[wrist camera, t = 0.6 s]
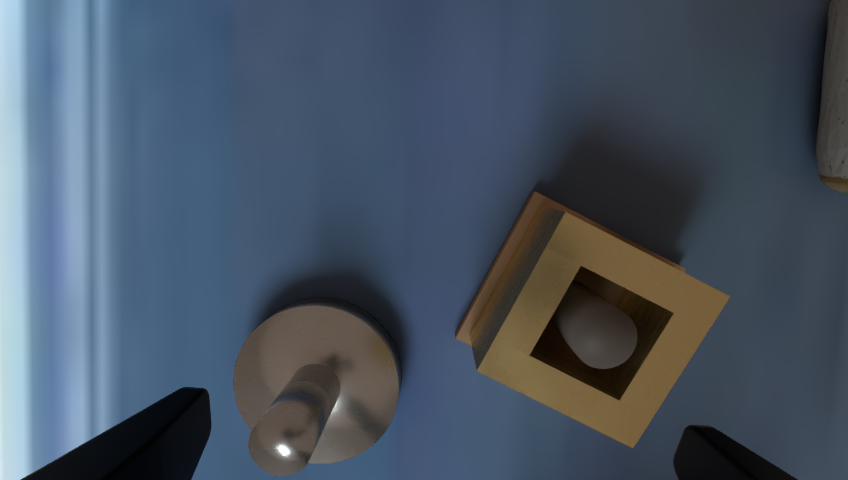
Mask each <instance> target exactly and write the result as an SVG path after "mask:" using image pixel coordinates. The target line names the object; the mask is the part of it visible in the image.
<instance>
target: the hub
mask: <svg viewBox="0 0 848 480" xmlns="http://www.w3.org/2000/svg"><path fill="white" fill-rule="evenodd" d="M233 383H234V393H235V398H236V402H237V405H238V408H239V411H240V413H241V415H242V417H243V419H244V421H245V422H246V424H247V425H248V427H249V429H250V430H251V431H252V432H251V434H250V437H249V443H248V444H249V452H250V454H251V457H252V459H253V460H254V462H255V463H256V464H257V465H258V466H259V467H260V468H261V469H263V470H264V471H266V472H268V473H270V474H273V475H278V476H287V475H292V474H295V473H297V472H299V471H300V470H302V469H303V468H304V467H305V466H306V465H307V463H312V464H327V463H335V462H340V461H344V460H347V459H350V458H353V457H355V456H357V455H359V454H361V453H363V452H364V451H365V450H367V449H368V448H370V447H371V446H372V445H373V444H374V443H376V442H377V441H378V440H379V439H380V437H381V436H382V435H383V434H384V433H385V431H386V430H387V428H388V426H389V425H390V423H391V421H392V418H393V416H394V414H395V410H396V407H397V402H398V397H399V391H400V385H401V365H400V359H399V356H398V352H397V349H396V347H395V345H394V342H393V341H392V339H391V337H390V336H389V334H388V332H387V331H386V330H385V329H384V327H383V326H382V325H381V324H380V323H379V322H378V321H377V320H376V319H375V318H374V317H372V316H371V315H370V314H369V313H367V312H366V311H364V310H362V309H361V308H359V307H357V306H355V305H352V304H350V303H348V302H344V301H340V300H336V299H329V298H313V299H305V300H301V301H297V302H295V303H292V304H289V305H287V306H285V307H284V308H282V309H280V310H278V311H277V312H276V313H274V314H273V315H272V316H270V317H269V318H268V319H267V320H265V321H264V322H263V323H262V324H260V325H259V326H258V327H257V328H256V329H255V330H254V331H253V332H252V333H251V334H250V336H249V337H248V338H247V340H246V341H245V342H244V344H243V346H242V348H241V350H240V352H239V355H238V357H237V360H236V364H235V369H234V379H233Z"/></svg>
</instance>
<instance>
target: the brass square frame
mask: <svg viewBox="0 0 848 480" xmlns="http://www.w3.org/2000/svg"><path fill="white" fill-rule="evenodd" d="M580 266H583V267H585V268H587V269H589V270H591V271H593V272H595V273H596V274H598V275H600V276H602V277H604V278H606V279H608V280H610V281H612V282H614V283H616V284H618V285H620V286H622V287H624V288H626V289H625V290H624V292H623V294H622V295H621V297H620V299H619V300H618V302H617V304H616V305H615V306H616V307H617V308H618V309H620V310H621V311H623V312H624V313H626V314H627V315H628V316H629V317H630V318H631V319H632V321H633V322H634V324H635V326H636V329H637V337H638V338H637V344H636V347H635V350H634V352H633V353H632V355H631V356H630V357H629V358H628V359H627V360H626V361H625V362H624V363H622V364H620V365H618V366H616V367H613V368H609V369H599V368H594V367H591V366H589V365H587V364H585V363H584V362H583V361H581V359H580V358H579V357H578V356H577V355H576V354H575V353H573V352H571V351H569V350H567V349H565V348H563V347H561V346H559V345H557V344H555V343H553V342H551V341H549V340H547V339H545V338H543V337H541V334H542V332H543V331H544V329H545V327H546V326H547V324H548V322H549V320H550V319H551V317H552V315H553V313H554V312H555V310H556V308H557V306H558V305H559V303H560V301H561V299H562V298H563V296H564V294H565V293H566V291H567V289H568V287H569V286H570V284H571V282H572V280H573V279H574V277H575V275H576V273H577V272H578V270H579V268H580ZM729 298H730V296H728V295H726V294H724V293H723V292H721V291H719V290H717V289H715V288H713V287H711V286H709V285H707V284H705V283H703V282H701V281H699V280H697V279H695V278H693V277H691V276H689V275H688V274H686V273H684V272H682V271H680V270H678V269H676V268H674V267H672V266H670V265H668V264H666V263H664V262H662V261H660V260H658V259H656V258H654V257H653V256H651V255H649V254H647V253H645V252H643V251H641V250H639V249H637V248H635V247H633V246H631V245H629V244H627V243H625V242H623V241H621V240H619V239H618V238H616V237H614V236H612V235H610V234H608V233H606V232H604V231H602V230H600V229H598V228H596V227H594V226H592V225H590V224H588V223H586V222H584V221H583V220H581V219H579V218H577V217H575V216H573V215H571V214H569V213H567V212H564V211H560V210H556V209H551V208H547V207H543V206H539V208H538V210H537V211H536V213H535V215H534V217H533V219H532V220H531V222H530V224H529V226H528V228H527V230H526V231H525V233H524V235H523V237H522V239H521V241H520V242H519V244H518V246H517V248H516V250H515V252H514V253H513V255H512V257H511V259H510V261H509V262H508V264H507V266H506V268H505V270H504V272H503V273H502V275H501V277H500V279H499V281H498V283H497V284H496V286H495V288H494V290H493V292H492V294H491V295H490V297H489V299H488V301H487V303H486V304H485V306H484V308H483V310H482V312H481V314H480V315H479V317H478V319H477V321H476V323H475V325H474V326H473V328H472V330H471V332H470V334H469V335H470V340H471V345H472V350H473V355H474V360H475V364H476V369H477V371H478V372H480V373H482V374H484V375H486V376H488V377H490V378H492V379H494V380H496V381H498V382H500V383H502V384H504V385H506V386H508V387H510V388H512V389H514V390H516V391H518V392H520V393H522V394H524V395H526V396H528V397H530V398H532V399H534V400H536V401H538V402H540V403H542V404H544V405H546V406H549V407H551V408H553V409H555V410H557V411H559V412H561V413H563V414H565V415H567V416H569V417H571V418H573V419H575V420H577V421H579V422H581V423H583V424H585V425H587V426H589V427H591V428H593V429H595V430H597V431H599V432H601V433H603V434H605V435H607V436H609V437H611V438H613V439H615V440H617V441H619V442H621V443H623V444H625V445H627V446H629V447H631V448H634V446H635V445H636V443H637V442H638V440H639V439H640V437H641V436H642V434H643V432H644V431H645V429H646V428H647V426H648V425H649V423H650V421H651V420H652V418H653V417H654V415H655V414H656V412H657V411H658V409H659V407H660V406H661V404H662V403H663V401H664V400H665V398H666V396H667V395H668V393H669V392H670V390H671V389H672V387H673V386H674V384H675V382H676V381H677V379H678V378H679V376H680V375H681V373H682V371H683V370H684V368H685V367H686V365H687V364H688V362H689V360H690V359H691V357H692V356H693V354H694V353H695V351H696V350H697V348H698V346H699V345H700V343H701V342H702V340H703V339H704V337H705V335H706V334H707V332H708V331H709V329H710V328H711V326H712V325H713V323H714V321H715V320H716V318H717V317H718V315H719V314H720V312H721V310H722V309H723V307H724V306H725V304H726V303H727V301H728V300H729Z"/></svg>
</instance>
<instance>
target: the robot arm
mask: <svg viewBox="0 0 848 480" xmlns="http://www.w3.org/2000/svg"><path fill="white" fill-rule="evenodd" d="M210 432H211V412H210V400H209V393H208V391H207V390H206V389H204V388H194V387H183V388H181V389H179V390H177V391H175V392H173V393H171V394H170V395H168V396H166V397H164V398H163V399H161V400H159V401H157V402H156V403H154V404H152V405H150V406H149V407H147V408H145V409H143V410H142V411H140V412H138V413H136V414H135V415H133V416H131V417H129V418H128V419H126V420H124V421H122V422H121V423H119V424H117V425H115V426H114V427H112V428H110V429H108V430H107V431H105V432H103V433H101V434H100V435H98V436H96V437H94V438H93V439H91V440H89V441H87V442H86V443H84V444H82V445H80V446H79V447H77V448H75V449H73V450H72V451H70V452H68V453H66V454H65V455H63V456H61V457H59V458H58V459H56V460H54V461H52V462H51V463H49V464H47V465H45V466H44V467H42V468H40V469H38V470H37V471H35V472H33V473H31V474H30V475H28V476H26V477H24V478H23V479H21V480H191V479H192V476H193V474H194V472H195V469H196V467H197V465H198V462H199V460H200V458H201V455H202V453H203V450H204V448H205V446H206V443H207V441H208V439H209V436H210ZM673 462H674V468H675V472H676V474H677V477H678V479H679V480H797V479H796V478H794V477H793V476H791V475H789V474H788V473H786V472H785V471H783V470H781V469H780V468H778V467H776V466H775V465H773V464H772V463H770V462H768V461H767V460H765V459H764V458H762V457H760V456H759V455H757V454H755V453H754V452H752V451H751V450H749V449H747V448H746V447H744V446H743V445H741V444H739V443H738V442H736V441H734V440H733V439H731V438H730V437H728V436H726V435H725V434H723V433H722V432H720V431H718V430H717V429H715V428H713V427H710V426H703V425H689V426H687V427H686V428H685V429H684V432H683V434H682V437H681V439H680V442H679V444H678V447H677V450H676V452H675V455H674V461H673Z"/></svg>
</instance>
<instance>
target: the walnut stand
mask: <svg viewBox="0 0 848 480" xmlns="http://www.w3.org/2000/svg"><path fill="white" fill-rule="evenodd" d="M539 206H543V207H547V208H551V209H556V210H560V211H564V212H567V213H569V214H571V215H573V216H575V217H577V218H579V219H581V220H583V221H584V222H586V223H588V224H590V225H592V226H594V227H596V228H598V229H600V230H602V231H604V232H606V233H608V234H610V235H612V236H614V237H616V238H618V239H619V240H621V241H623V242H625V243H627V244H629V245H631V246H633V247H635V248H637V249H639V250H641V251H643V252H645V253H647V254H649V255H651V256H653V257H654V258H656V259H658V260H660V261H662V262H664V263H666V264H668V265H670V266H672V267H674V268H676V269H678V270H680V271H682V272H685V270H686V269H685V268H683V267H681V266H680V265H678V264H676V263H674V262H672V261H670V260H668V259H666V258H664V257H662V256H660V255H658V254H656V253H654V252H652V251H650V250H648V249H647V248H645V247H643V246H641V245H639V244H637V243H635V242H633V241H631V240H629V239H627V238H625V237H623V236H621V235H619V234H617V233H615V232H613V231H612V230H610V229H608V228H606V227H604V226H602V225H600V224H598V223H596V222H594V221H592V220H590V219H588V218H586V217H584V216H582V215H580V214H579V213H577V212H575V211H573V210H571V209H569V208H567V207H565V206H563V205H561V204H559V203H557V202H555V201H553V200H551V199H549V198H547V197H545V196H544V195H542V194H540V193H538V192H536V191H532V193H531V194H530V196H529V198H528V200H527V202H526V204H525V205H524V207H523V209H522V211H521V213H520V215H519V217H518V218H517V220H516V222H515V224H514V226H513V228H512V229H511V231H510V233H509V235H508V237H507V239H506V241H505V242H504V244H503V246H502V248H501V250H500V252H499V253H498V255H497V257H496V259H495V261H494V263H493V265H492V266H491V268H490V270H489V272H488V274H487V276H486V277H485V279H484V281H483V283H482V285H481V287H480V289H479V290H478V292H477V294H476V296H475V298H474V300H473V301H472V303H471V305H470V307H469V309H468V311H467V312H466V314H465V316H464V318H463V320H462V322H461V324H460V325H459V327H458V329H457V331H456V333H455V338H456V339H458V340H460V341H462V342H464V343H466V344H468V345H470V346H472V345H471V340H470V335H469V334H470V332H471V330H472V328H473V326H474V325H475V323H476V321H477V319H478V317H479V315H480V314H481V312H482V310H483V308H484V306H485V304H486V303H487V301H488V299H489V297H490V295H491V294H492V292H493V290H494V288H495V286H496V284H497V283H498V281H499V279H500V277H501V275H502V273H503V272H504V270H505V268H506V266H507V264H508V262H509V261H510V259H511V257H512V255H513V253H514V252H515V250H516V248H517V246H518V244H519V242H520V241H521V239H522V237H523V235H524V233H525V231H526V230H527V228H528V226H529V224H530V222H531V220H532V219H533V217H534V215H535V213H536V211H537V210H538V208H539ZM625 289H626V288H624V287H622V286H620V285H618V284H616V283H614V282H612V281H610V280H608V279H606V278H604V277H602V276H600V275H598V274H596V273H595V272H593V271H591V270H589V269H587V268H585V267H583V266H580V268H579V270H578V272H577V273H576V275H575V277H574V279H573V280H572V282H571V284H570V286H569V287H568V289H567V291H566V293H565V294H564V296H563V298H562V299H561V301H560V303H559V305H558V306H557V308H556V310H555V312H554V313H553V315H552V317H551V319H550V320H549V322H548V324H547V326H546V327H545V329H544V331H543V332H542V334H541V337H543V338H545V339H547V340H549V341H551V342H553V343H555V344H557V345H559V346H561V347H563V348H565V349H567V350H569V351H571V352H573V353H575V354H576V355H577V356H578V357H579V358H580V359H581V361H583V362H584V363H585V364H587V365H589V366H591V367H594V368H599V369H609V368H613V367H616V366H618V365H620V364H622V363H624V362H625V361H626V360H627V359H628V358H629V357H630V356H631V355H632V353H633V352H634V350H635V347H636V344H637V338H638V337H637V329H636V326H635V324H634V322H633V321H632V319H631V318H630V317H629V316H628V315H627V314H626V313H624V312H623V311H621V310H620V309H618V308H617V307H616V306H615V305H616V304H617V302H618V300H619V299H620V297H621V295H622V294H623V292H624V290H625Z"/></svg>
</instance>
